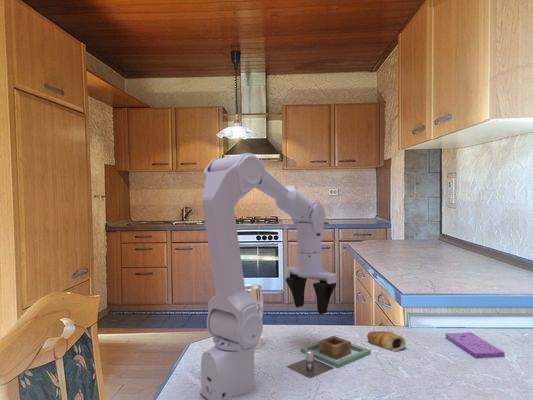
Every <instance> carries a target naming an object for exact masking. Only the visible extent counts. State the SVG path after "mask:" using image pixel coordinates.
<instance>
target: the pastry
mask: <svg viewBox="0 0 533 400" xmlns="http://www.w3.org/2000/svg"><path fill="white" fill-rule="evenodd" d="M366 338H367V340H368V341H369V342H370V343H371V344H372V346H375V347H378V348H381V349H385V350H387V351H390V352H393V353H395V352H397V351H400V350H403V349H405V348H406V344H407V343H406V339H404V337H403V336H402V335H398V334H397V333H394V331H393V332H392V331H388V330H387V331H386V330H380V331H379V330H377V331H376V330H374V331H370V332H368V333H367V335H366Z"/></svg>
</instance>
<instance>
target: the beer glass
mask: <svg viewBox="0 0 533 400" xmlns="http://www.w3.org/2000/svg"><path fill="white" fill-rule="evenodd" d="M244 284H245V283H244ZM245 290H246V292H247V293H248V294H249V295H250V296H251V297H252V298H253V299H254V301H255V302H256V305H257V310H258V313H259V314H260V316H261V318H262V319H263V315H264V295H263V286H262V285H260V284H255V283H253V284H251V283H249V284H245ZM261 338H262V337H261V336H260V338H259V340H258V342H257V344H256V345H255V346H254V350H256V349H257V348H260V347H261V346H262V345H263V344H262V343H263V342H262V339H261Z"/></svg>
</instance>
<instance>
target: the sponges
mask: <svg viewBox="0 0 533 400" xmlns="http://www.w3.org/2000/svg"><path fill="white" fill-rule="evenodd" d="M445 339H446V340H447V341H449V342H450V343H452V344H453V345H454V346H456V347H458V348H459V349H461V350H462V351H463V350H464V351H463V352H464V353H466V352H467V353H466V354H468V355H469V354H470V355H469V356H470V357H472V358H475V359H488V358H489V359H490V358H505V357H506V356H505V351H504V350H502V349H500V348H498V347H496V346H495V345H494V344H491V343H490V342H488V341H486V340H485V339H484V338H481V336H478V335H477V334H475V333H474V332H472V331H469V332H461V333H460V332H454V333H453V332H452V333H451V332H450V333H449V332H448V333H447V332H446V333H445Z"/></svg>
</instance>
